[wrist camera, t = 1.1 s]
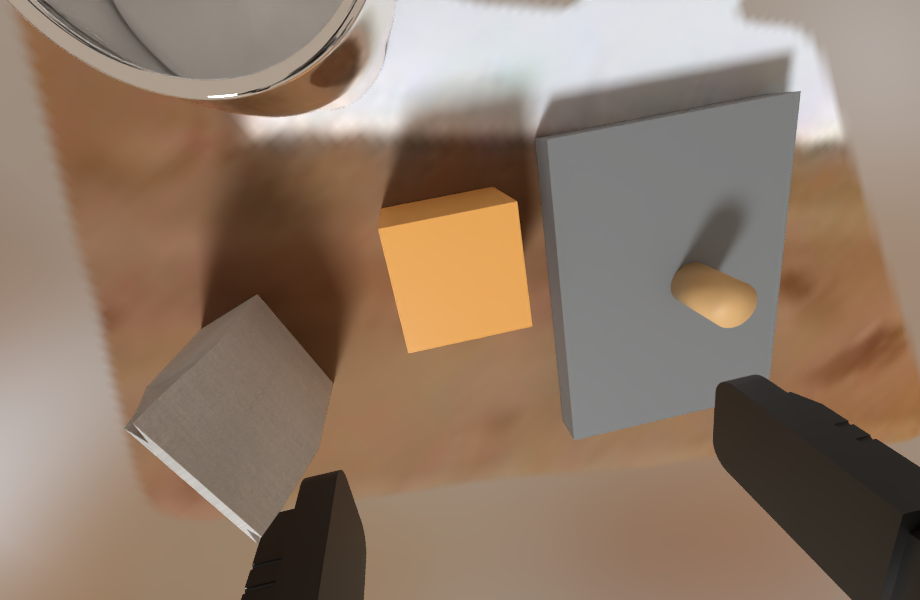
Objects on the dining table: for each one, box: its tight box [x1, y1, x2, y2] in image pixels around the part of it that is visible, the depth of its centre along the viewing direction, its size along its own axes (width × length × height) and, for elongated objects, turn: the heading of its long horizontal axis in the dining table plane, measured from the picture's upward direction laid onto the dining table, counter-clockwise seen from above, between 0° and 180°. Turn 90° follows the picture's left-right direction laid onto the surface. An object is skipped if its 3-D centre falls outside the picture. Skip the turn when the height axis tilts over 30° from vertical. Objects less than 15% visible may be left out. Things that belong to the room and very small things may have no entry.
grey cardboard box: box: [124, 294, 333, 544], centre depth 21 cm, size 4×7×10 cm, turn 30°
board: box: [535, 91, 801, 440], centre depth 25 cm, size 18×13×6 cm
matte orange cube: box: [378, 187, 532, 353], centre depth 23 cm, size 6×6×5 cm
